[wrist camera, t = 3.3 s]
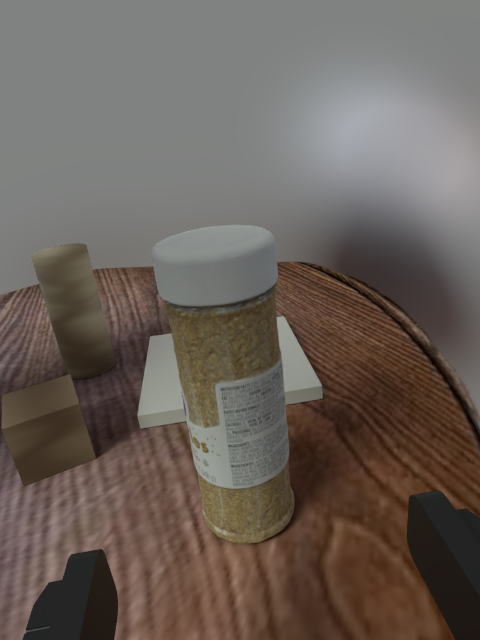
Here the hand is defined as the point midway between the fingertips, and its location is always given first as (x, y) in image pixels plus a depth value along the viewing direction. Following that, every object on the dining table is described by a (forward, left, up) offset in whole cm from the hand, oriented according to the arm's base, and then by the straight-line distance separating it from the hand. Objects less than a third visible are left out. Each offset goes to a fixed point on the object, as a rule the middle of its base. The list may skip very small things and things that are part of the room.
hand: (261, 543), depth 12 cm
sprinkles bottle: (0, +8, -7) cm, 11 cm away
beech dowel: (-11, +26, -7) cm, 29 cm away
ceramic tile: (0, +22, -7) cm, 23 cm away
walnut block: (-11, +15, -7) cm, 20 cm away
